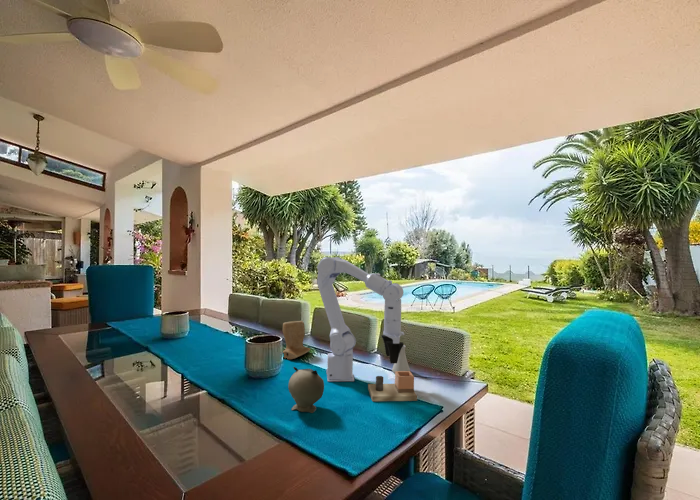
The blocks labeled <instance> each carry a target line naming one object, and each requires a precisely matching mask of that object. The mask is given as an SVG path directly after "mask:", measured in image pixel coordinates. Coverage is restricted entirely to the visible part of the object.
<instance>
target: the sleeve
mask: <svg viewBox="0 0 700 500" xmlns="http://www.w3.org/2000/svg"><path fill="white" fill-rule="evenodd" d="M410 371H411V370H410ZM410 371H395V373H394V384H395V388H396V390H397V391H398V393H414V391H415V375H413V373H412V372H410Z"/></svg>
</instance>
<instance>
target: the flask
mask: <svg viewBox="0 0 700 500" xmlns="http://www.w3.org/2000/svg"><path fill="white" fill-rule="evenodd" d="M406 347H407V346H406V345H403V347H402V348H401V351H400V353H399V357H398V361H397V363H393V366H392V369H391V372H392V373H394V374H395V371H410V372H411V369H410V366H409V363H408V359H407V356H406ZM411 373H412V372H411Z"/></svg>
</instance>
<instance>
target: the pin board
mask: <svg viewBox="0 0 700 500" xmlns="http://www.w3.org/2000/svg"><path fill="white" fill-rule="evenodd" d="M367 390H368V392H369V396H370V398H371V401H372V402H408V401H409V402H412V401H414V402H415V401H417V402H418V394H417V393H416V391H415V390H414V393H398V391H397V390H396V388H395V383H384V376H382V375H377V376H375V383H368V384H367Z"/></svg>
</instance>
